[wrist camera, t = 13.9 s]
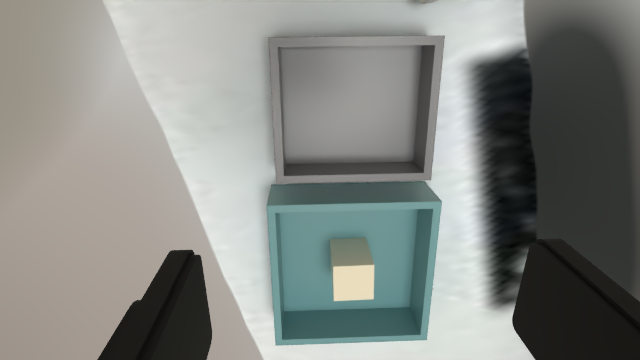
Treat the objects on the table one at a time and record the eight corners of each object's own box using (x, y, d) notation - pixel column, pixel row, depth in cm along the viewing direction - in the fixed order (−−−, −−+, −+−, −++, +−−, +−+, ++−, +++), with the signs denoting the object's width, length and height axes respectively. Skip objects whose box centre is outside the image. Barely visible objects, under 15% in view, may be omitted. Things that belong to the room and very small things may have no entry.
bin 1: (273, 38, 38) (268, 37, 34) (427, 36, 39) (444, 35, 34) (279, 168, 43) (276, 183, 38) (417, 165, 43) (430, 180, 39)
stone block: (329, 239, 45) (333, 266, 40) (365, 237, 45) (374, 264, 40) (330, 270, 47) (333, 301, 41) (365, 268, 47) (373, 299, 41)
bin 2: (271, 184, 44) (266, 205, 38) (424, 181, 44) (441, 201, 39) (279, 311, 50) (275, 345, 44) (413, 306, 50) (426, 340, 45)
